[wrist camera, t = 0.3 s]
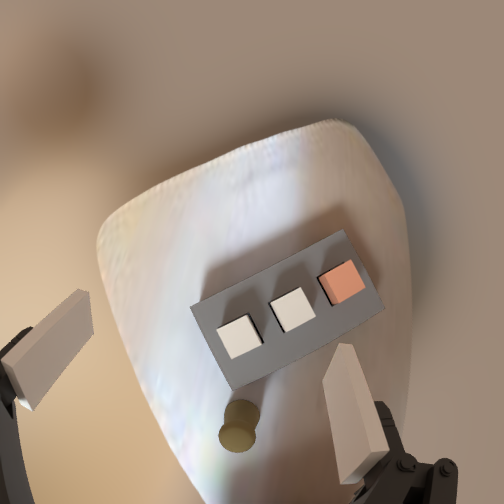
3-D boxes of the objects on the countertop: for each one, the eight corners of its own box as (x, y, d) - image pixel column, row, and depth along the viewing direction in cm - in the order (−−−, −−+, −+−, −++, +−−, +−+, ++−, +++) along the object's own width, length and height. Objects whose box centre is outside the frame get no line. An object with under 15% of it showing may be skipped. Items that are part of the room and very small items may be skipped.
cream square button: (261, 341, 40) (261, 344, 36) (234, 355, 40) (231, 359, 36) (247, 314, 41) (246, 315, 37) (220, 328, 41) (216, 329, 37)
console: (371, 309, 46) (385, 308, 40) (236, 381, 45) (232, 390, 39) (334, 238, 49) (342, 228, 43) (198, 307, 48) (189, 307, 42)
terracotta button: (356, 289, 41) (365, 287, 37) (332, 304, 41) (339, 303, 37) (343, 264, 42) (350, 259, 38) (318, 278, 42) (324, 274, 38)
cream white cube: (311, 316, 41) (315, 316, 37) (284, 330, 40) (286, 332, 37) (297, 289, 42) (300, 286, 38) (270, 303, 41) (270, 302, 37)
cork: (230, 433, 43) (221, 461, 32) (219, 403, 44) (207, 426, 33) (264, 425, 43) (263, 453, 32) (254, 395, 44) (251, 417, 33)
